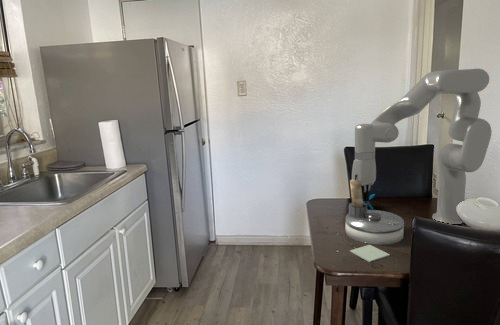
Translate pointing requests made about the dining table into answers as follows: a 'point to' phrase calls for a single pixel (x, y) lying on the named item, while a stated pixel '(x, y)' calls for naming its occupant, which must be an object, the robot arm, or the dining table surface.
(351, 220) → the chuck collar
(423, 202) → the dining table surface
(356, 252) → the mat
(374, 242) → the chuck base
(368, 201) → the teal angled piece
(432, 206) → the dining table surface
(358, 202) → the beige cylinder
